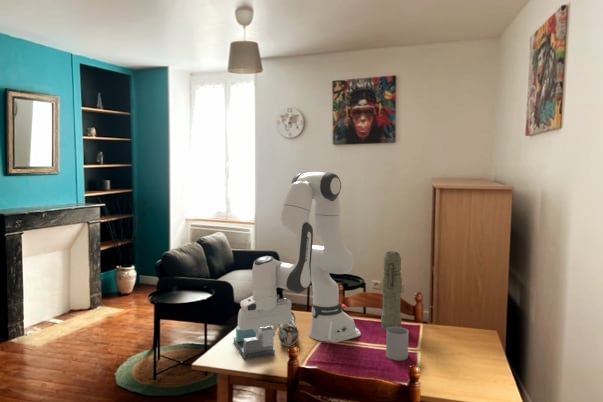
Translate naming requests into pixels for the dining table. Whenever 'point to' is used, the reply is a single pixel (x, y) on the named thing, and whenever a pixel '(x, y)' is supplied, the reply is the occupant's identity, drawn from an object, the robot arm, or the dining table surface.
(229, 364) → the dining table surface
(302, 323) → the dining table surface
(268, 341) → the steel block
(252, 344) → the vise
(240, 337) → the bar
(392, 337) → the cup
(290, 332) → the pencil case
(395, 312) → the grey-green stone column
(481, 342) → the dining table surface
